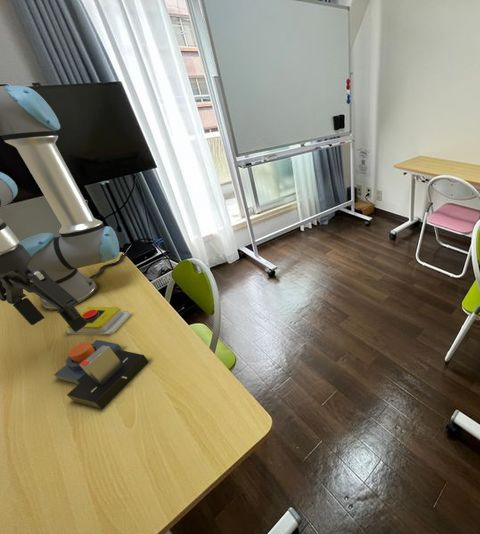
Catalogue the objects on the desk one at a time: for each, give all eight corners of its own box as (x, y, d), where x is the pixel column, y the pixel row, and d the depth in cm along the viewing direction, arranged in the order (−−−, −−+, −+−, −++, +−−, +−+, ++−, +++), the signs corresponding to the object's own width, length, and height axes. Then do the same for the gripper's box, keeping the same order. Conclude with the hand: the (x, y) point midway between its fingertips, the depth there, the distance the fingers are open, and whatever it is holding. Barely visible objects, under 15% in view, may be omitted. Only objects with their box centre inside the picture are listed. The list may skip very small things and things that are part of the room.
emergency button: (82, 303, 96) (125, 303, 95) (89, 313, 99) (132, 313, 98) (57, 324, 89) (104, 324, 88) (66, 334, 91) (111, 334, 90)
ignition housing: (100, 344, 87) (93, 335, 85) (122, 349, 86) (115, 339, 83) (58, 379, 78) (49, 370, 76) (81, 385, 76) (72, 376, 74)
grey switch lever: (117, 363, 78) (102, 344, 73) (123, 365, 77) (108, 345, 73) (96, 383, 73) (78, 364, 68) (102, 385, 72) (85, 365, 68)
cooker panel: (123, 356, 83) (117, 348, 82) (153, 362, 81) (148, 355, 79) (73, 401, 72) (66, 394, 71) (107, 411, 70) (100, 403, 68)
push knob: (86, 346, 82) (81, 340, 81) (99, 349, 81) (94, 343, 80) (68, 360, 78) (63, 354, 77) (82, 364, 77) (77, 358, 76)
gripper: (-71, 255, 60) (3, 329, 72) (21, 265, 55) (84, 342, 67) (-25, 238, 66) (36, 308, 78) (61, 245, 61) (113, 319, 73)
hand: (59, 324), depth 73 cm, fingers open, 13 cm apart
